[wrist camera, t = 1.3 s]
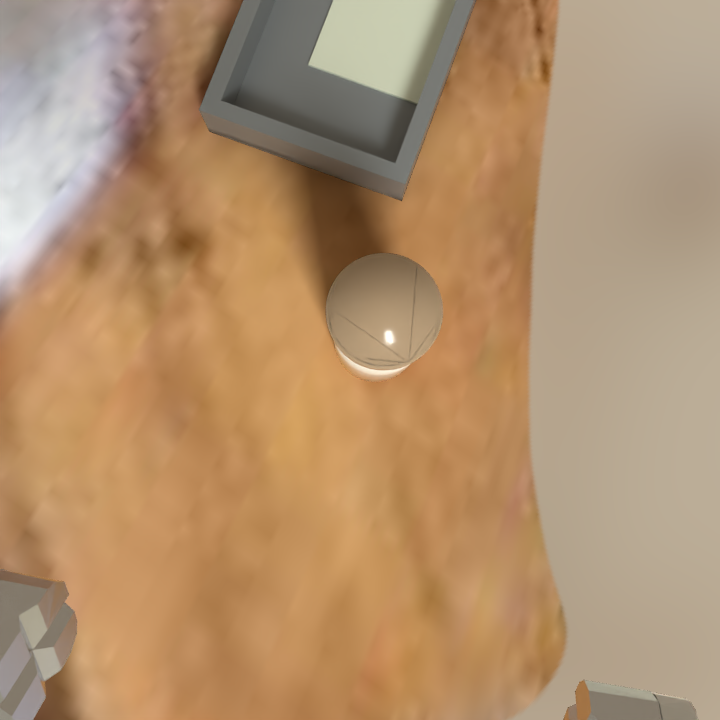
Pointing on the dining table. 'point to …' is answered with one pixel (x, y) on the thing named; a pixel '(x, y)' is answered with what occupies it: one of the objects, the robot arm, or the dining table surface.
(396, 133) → the tray
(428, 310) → the tube
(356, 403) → the dining table surface
